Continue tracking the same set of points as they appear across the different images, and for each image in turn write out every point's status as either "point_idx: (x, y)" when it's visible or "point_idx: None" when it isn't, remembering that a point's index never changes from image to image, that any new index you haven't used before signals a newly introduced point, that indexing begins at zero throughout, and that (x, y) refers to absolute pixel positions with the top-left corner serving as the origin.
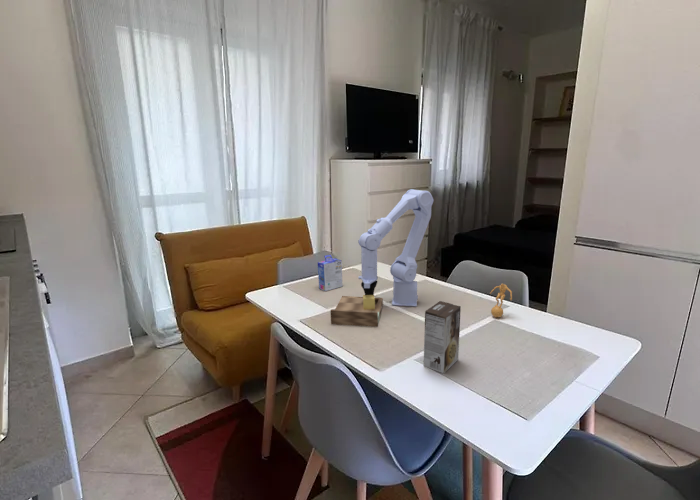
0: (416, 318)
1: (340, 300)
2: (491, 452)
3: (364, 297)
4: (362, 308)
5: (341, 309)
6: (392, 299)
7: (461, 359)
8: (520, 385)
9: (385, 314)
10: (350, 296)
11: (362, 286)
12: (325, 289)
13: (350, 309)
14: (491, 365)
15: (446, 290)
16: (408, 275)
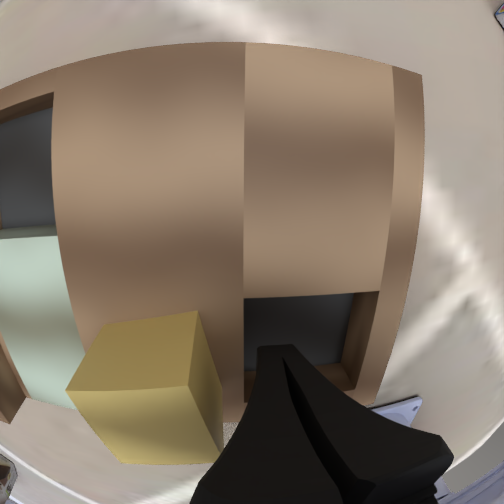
0: (182, 483)
1: (304, 52)
2: None
3: (108, 400)
4: (119, 314)
5: (57, 123)
6: (394, 407)
7: (22, 479)
8: (17, 494)
9: None
10: (420, 150)
11: (199, 489)
12: (502, 15)
13: (70, 208)
14: (36, 497)
15: None
16: None
